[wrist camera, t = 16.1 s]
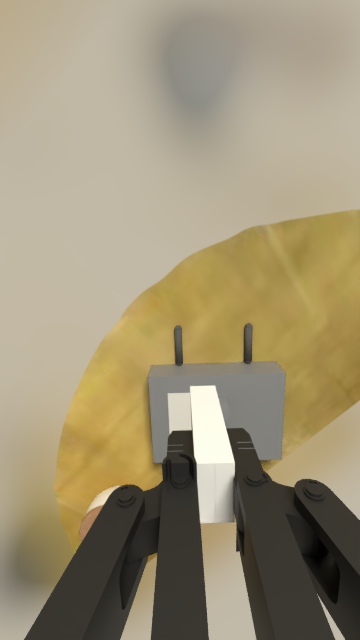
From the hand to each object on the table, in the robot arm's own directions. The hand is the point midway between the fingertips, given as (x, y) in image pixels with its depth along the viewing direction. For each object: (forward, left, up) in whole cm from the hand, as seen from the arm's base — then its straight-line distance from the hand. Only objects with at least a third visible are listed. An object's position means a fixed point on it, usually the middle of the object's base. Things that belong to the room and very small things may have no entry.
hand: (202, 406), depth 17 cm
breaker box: (-4, +18, -32) cm, 37 cm away
